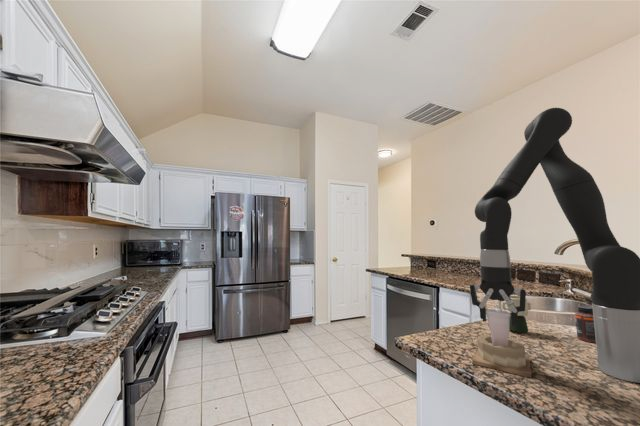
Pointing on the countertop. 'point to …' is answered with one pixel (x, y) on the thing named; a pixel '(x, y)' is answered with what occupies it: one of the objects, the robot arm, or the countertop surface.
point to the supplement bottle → (585, 324)
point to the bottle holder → (502, 356)
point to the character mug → (521, 319)
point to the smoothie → (499, 325)
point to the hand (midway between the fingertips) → (498, 322)
